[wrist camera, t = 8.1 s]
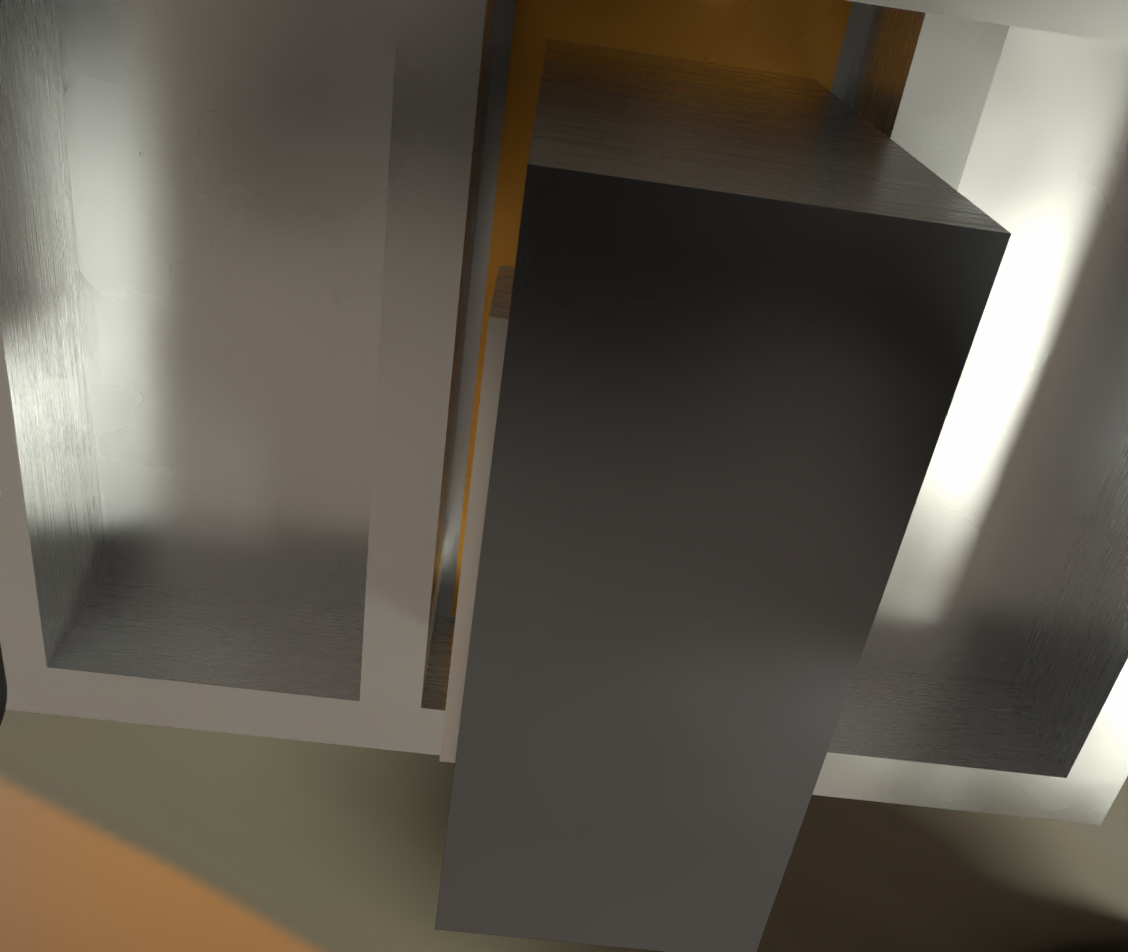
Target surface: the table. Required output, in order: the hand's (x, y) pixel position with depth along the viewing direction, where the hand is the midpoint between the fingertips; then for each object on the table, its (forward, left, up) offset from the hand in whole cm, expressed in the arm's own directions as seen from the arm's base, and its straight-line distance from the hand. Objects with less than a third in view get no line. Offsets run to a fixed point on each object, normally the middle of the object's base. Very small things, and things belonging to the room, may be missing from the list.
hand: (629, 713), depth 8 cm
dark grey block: (0, 0, -7) cm, 7 cm away
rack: (0, 0, -8) cm, 8 cm away
